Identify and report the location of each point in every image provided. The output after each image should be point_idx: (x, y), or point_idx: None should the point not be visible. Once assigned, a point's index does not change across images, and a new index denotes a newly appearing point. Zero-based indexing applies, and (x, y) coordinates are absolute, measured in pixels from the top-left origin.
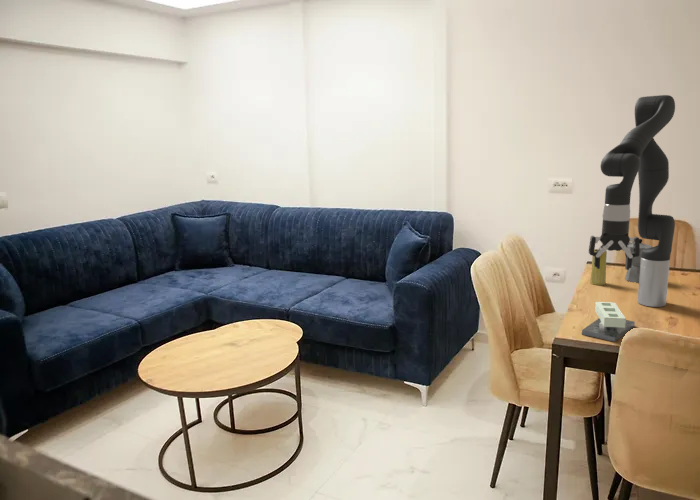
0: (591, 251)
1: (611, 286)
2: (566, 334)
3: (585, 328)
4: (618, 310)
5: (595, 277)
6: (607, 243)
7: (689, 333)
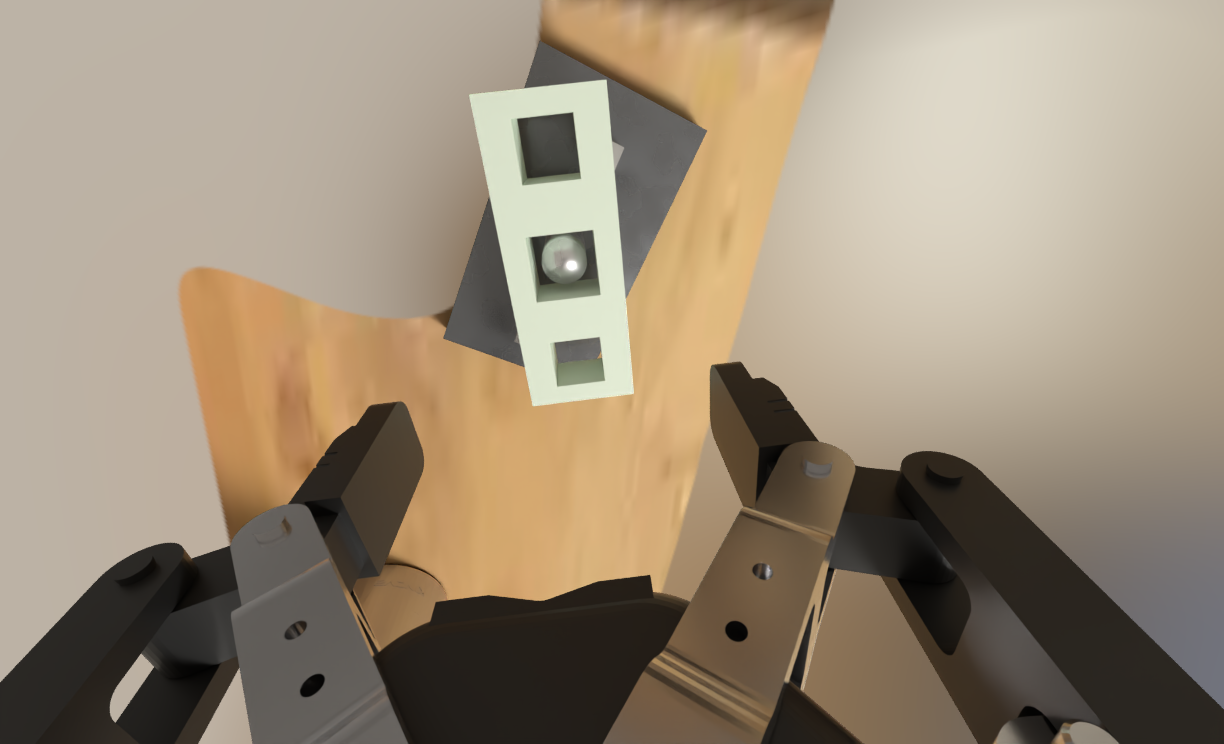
0: (983, 500)
1: None
2: (778, 108)
3: (686, 162)
4: (515, 264)
5: None
6: (764, 725)
7: (199, 294)
